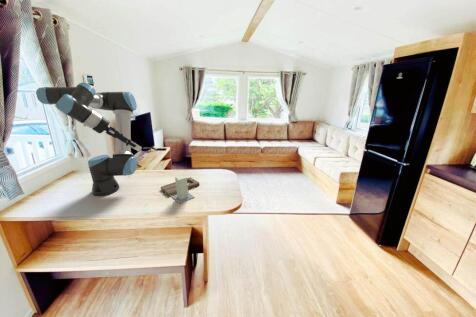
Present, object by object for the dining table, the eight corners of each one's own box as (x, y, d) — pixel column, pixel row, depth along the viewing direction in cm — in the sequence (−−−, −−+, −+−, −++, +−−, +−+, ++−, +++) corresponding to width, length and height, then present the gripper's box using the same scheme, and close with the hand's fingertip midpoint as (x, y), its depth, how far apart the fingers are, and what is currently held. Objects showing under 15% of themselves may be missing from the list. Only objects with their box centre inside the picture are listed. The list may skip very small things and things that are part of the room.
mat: (171, 197, 126) (171, 196, 126) (186, 191, 133) (186, 191, 133) (179, 203, 119) (179, 202, 119) (194, 197, 126) (194, 196, 125)
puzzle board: (161, 189, 136) (160, 186, 135) (190, 179, 149) (190, 177, 149) (168, 196, 127) (168, 193, 127) (199, 185, 141) (199, 182, 140)
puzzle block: (177, 196, 126) (175, 177, 122) (184, 193, 129) (182, 174, 125) (181, 199, 123) (178, 179, 118) (188, 196, 126) (186, 177, 121)
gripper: (87, 125, 104) (124, 147, 119) (96, 133, 87) (139, 158, 102) (96, 113, 106) (133, 137, 120) (108, 119, 88) (148, 145, 103)
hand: (136, 146), depth 111 cm, fingers open, 13 cm apart
